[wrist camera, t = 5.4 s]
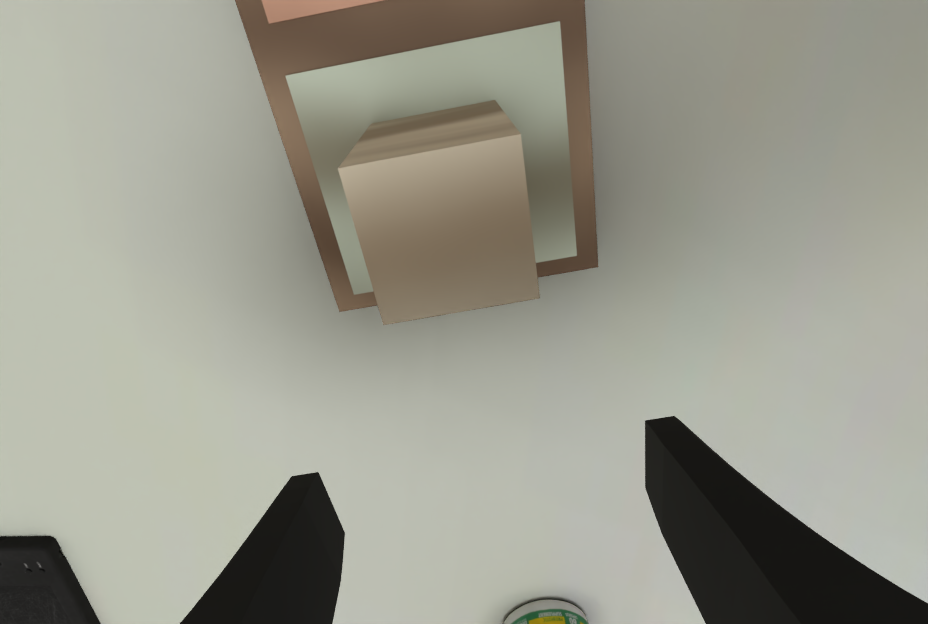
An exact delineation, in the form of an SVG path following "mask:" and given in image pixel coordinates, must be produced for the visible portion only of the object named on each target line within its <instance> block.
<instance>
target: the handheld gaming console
mask: <svg viewBox="0 0 928 624" xmlns="http://www.w3.org/2000/svg"><path fill="white" fill-rule="evenodd" d="M59 550H60V546H59V544H58V542H57V540H56V539H55V538H54V537H51V536H12V537H7V536H1V537H0V624H100V622H99V620H98V618H97V616H96V614H95V612H94V610H93V608H92V607H91V605H90V603H89V601H88V599H87V597H86V595H85V593H84V591H83V590H82V588H81V586H80V584H79V582H78V580H77V578H76V576H75V574H74V572H73V571H72V569H71V567H70V565H69V563H68V561H67V559H66V557H65V556H62V554H61V551H59Z"/></svg>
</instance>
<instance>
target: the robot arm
mask: <svg viewBox="0 0 928 624" xmlns="http://www.w3.org/2000/svg"><path fill="white" fill-rule="evenodd" d="M645 488H646V491H647V493H648V496H649V499H650V502H651V505H652V508H653V511H654V513H655V516H656V519H657V521H658V524H659V527H660V530H661V532H662V535H663V537H664V539H665V541H666V543H667V545H668V547H669V549H670V551H671V553H672V555H673V558H674V560H675V562H676V564H677V566H678V568H679V570H680V572H681V574H682V576H683V578H684V580H685V582H686V584H687V586H688V588H689V590H690V592H691V594H692V596H693V598H694V600H695V602H696V604H697V606H698V609H699V611H700V613H701V615H702V617H703V619H704V621H705V623H706V624H928V603H926V602H924V601H923V600H921V599H919V598H917V597H916V596H914V595H912V594H910V593H909V592H907V591H905V590H903V589H902V588H900V587H898V586H897V585H895V584H893V583H892V582H890V581H889V580H887V579H885V578H884V577H882V576H881V575H879V574H877V573H876V572H874V571H873V570H871V569H869V568H868V567H866V566H865V565H863V564H862V563H860V562H859V561H857V560H856V559H854V558H853V557H851V556H850V555H848V554H847V553H845V552H844V551H842V550H841V549H839V548H838V547H836V546H835V545H833V544H832V543H830V542H829V541H827V540H826V539H825V538H823V537H822V536H820V535H819V534H818V533H816V532H815V531H813V530H812V529H811V528H809V527H808V526H806V525H805V524H804V523H802V522H801V521H800V520H798V519H797V518H796V517H794V516H793V515H792V514H790V513H789V512H788V511H786V510H785V509H784V508H782V507H781V506H780V505H778V504H777V503H776V502H775V501H773V500H772V499H771V498H769V497H768V496H767V495H766V494H764V493H763V492H762V491H761V490H760V489H758V488H757V487H756V486H755V485H753V484H752V483H751V482H750V481H748V480H747V479H746V478H745V477H744V476H742V475H741V474H740V473H739V472H737V471H736V470H735V469H734V468H733V467H732V466H730V465H729V464H728V463H727V462H726V461H725V460H723V459H722V458H721V457H720V456H719V455H718V454H717V453H715V452H714V451H713V450H712V449H711V448H710V447H709V446H707V445H706V444H705V443H704V442H703V441H702V440H701V439H700V438H699V437H697V436H696V435H695V434H694V433H693V432H692V431H691V430H690V429H689V428H688V427H687V426H685V425H684V424H683V423H682V422H681V421H680V420H679V419H677V418H676V417H675V416H671V417H665V418H659V419H652V420H646V421H645ZM344 537H345V532H344V530H343V528H342V525H341V523H340V521H339V519H338V516H337V514H336V512H335V509H334V507H333V505H332V502H331V500H330V498H329V496H328V493H327V491H326V489H325V486H324V484H323V482H322V479H321V477H320V475H319V473H318V472H316V473H310V474H304V475H297V476H292V477H291V478H290V479H289V481H288V482H287V484H286V485H285V486H284V488H283V489H282V490H281V492H280V493H279V494H278V496H277V497H276V499H275V500H274V501H273V503H272V504H271V506H270V507H269V508H268V510H267V511H266V513H265V514H264V515H263V517H262V518H261V520H260V521H259V522H258V524H257V525H256V527H255V528H254V529H253V531H252V532H251V533H250V535H249V536H248V538H247V539H246V540H245V542H244V543H243V544H242V546H241V547H240V548H239V550H238V551H237V552H236V554H235V555H234V556H233V558H232V559H231V560H230V562H229V563H228V564H227V566H226V567H225V568H224V570H223V571H222V572H221V574H220V575H219V576H218V577H217V579H216V580H215V581H214V582H213V584H212V585H211V586H210V587H209V589H208V590H207V591H206V592H205V594H204V595H203V596H202V597H201V599H200V600H199V601H198V602H197V604H196V605H195V606H194V607H193V609H192V610H191V611H190V612H189V614H188V615H187V616H186V617H185V618H184V619H183V621H182V622H181V623H180V624H332V622H333V617H334V612H335V607H336V602H337V597H338V592H339V587H340V582H341V573H342V563H343V550H344Z"/></svg>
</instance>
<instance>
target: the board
mask: <svg viewBox="0 0 928 624" xmlns="http://www.w3.org/2000/svg"><path fill="white" fill-rule="evenodd" d="M235 2H236V5H237V8H238V11H239V14H240V16H241V19H242V22H243V25H244V28H245V31H246V34H247V37H248V40H249V43H250V46H251V49H252V52H253V55H254V58H255V61H256V64H257V67H258V70H259V73H260V76H261V79H262V82H263V85H264V88H265V91H266V94H267V97H268V100H269V103H270V106H271V109H272V112H273V115H274V118H275V121H276V124H277V127H278V130H279V133H280V136H281V139H282V142H283V145H284V148H285V151H286V154H287V157H288V159H289V162H290V165H291V168H292V171H293V174H294V177H295V180H296V183H297V186H298V189H299V192H300V195H301V198H302V201H303V204H304V207H305V210H306V213H307V216H308V219H309V222H310V225H311V228H312V231H313V234H314V237H315V240H316V243H317V246H318V249H319V252H320V255H321V258H322V261H323V264H324V267H325V270H326V273H327V276H328V279H329V282H330V285H331V288H332V291H333V294H334V297H335V300H336V303H337V305H338V308H339V311H340V312H342V311H347V310H353V309H359V308H365V307H370V306H376V305H378V304H377V301H376V298H375V294H374V291H373V287H372V284H371V281H370V277H369V274H368V270H367V267H366V263H365V260H364V257H363V253H362V250H361V246H360V243H359V239H358V236H357V233H356V229H355V226H354V222H353V219H352V215H351V212H350V209H349V205H348V202H347V198H346V195H345V191H344V188H343V185H342V181H341V178H340V174H339V171H338V167H339V166H340V165H341V163H342V162H343V161H344V159H345V158H346V157H347V155H348V154H349V153H350V151H351V150H352V149H353V147H354V146H355V145H356V143H357V142H358V141H359V139H360V138H361V137H362V135H363V134H364V133H365V131H366V130H367V128H368V127H369V126H370V124H372V123H377V122H382V121H387V120H393V119H398V118H403V117H408V116H413V115H419V114H424V113H429V112H434V111H439V110H445V109H450V108H455V107H460V106H466V105H471V104H476V103H481V102H486V101H492V100H496V102H497V103H498V104H499V106H500V107H501V108H502V110H503V111H504V112H505V114H506V115H507V116H508V118H509V119H510V120H511V122H512V123H513V124H514V126H515V127H516V128H517V130H518V131H519V132H520V134H521V140H522V148H523V157H524V166H525V174H526V183H527V192H528V200H529V209H530V218H531V226H532V235H533V244H534V252H535V261H536V269H537V278H538V277H543V276H549V275H555V274H561V273H566V272H572V271H578V270H584V269H589V268H595V267H598V254H597V234H596V215H595V195H594V176H593V156H592V137H591V117H590V97H589V78H588V58H587V39H586V19H585V0H235Z"/></svg>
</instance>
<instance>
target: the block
mask: <svg viewBox="0 0 928 624" xmlns="http://www.w3.org/2000/svg"><path fill="white" fill-rule="evenodd" d="M338 171H339V174H340V178H341V181H342V185H343V188H344V191H345V195H346V198H347V202H348V205H349V209H350V212H351V215H352V219H353V222H354V226H355V229H356V233H357V236H358V239H359V243H360V246H361V250H362V253H363V257H364V260H365V263H366V267H367V270H368V274H369V277H370V281H371V284H372V287H373V291H374V294H375V298H376V301H377V304H378V308H379V311H380V315H381V318H382V322H383V325H387V324H393V323H399V322H404V321H410V320H416V319H422V318H428V317H434V316H439V315H445V314H451V313H457V312H463V311H469V310H474V309H480V308H486V307H492V306H498V305H504V304H509V303H515V302H521V301H527V300H533V299H539V298H540V295H539V287H538V278H537V269H536V261H535V252H534V244H533V235H532V226H531V218H530V209H529V200H528V192H527V183H526V174H525V166H524V157H523V148H522V140H521V134H520V132H519V131H518V130H517V128H516V127H515V126H514V124H513V123H512V122H511V120H510V119H509V118H508V116H507V115H506V114H505V112H504V111H503V110H502V108H501V107H500V106H499V104H498V103H497V102H496V100H492V101H486V102H481V103H476V104H471V105H466V106H460V107H455V108H450V109H445V110H439V111H434V112H429V113H424V114H419V115H413V116H408V117H403V118H398V119H393V120H387V121H382V122H377V123H372V124H370V126H369V127H368V128H367V130H366V131H365V133H364V134H363V135H362V137H361V138H360V139H359V141H358V142H357V143H356V145H355V146H354V147H353V149H352V150H351V151H350V153H349V154H348V155H347V157H346V158H345V159H344V161H343V162H342V163H341V165H340V166H339V167H338Z"/></svg>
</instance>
